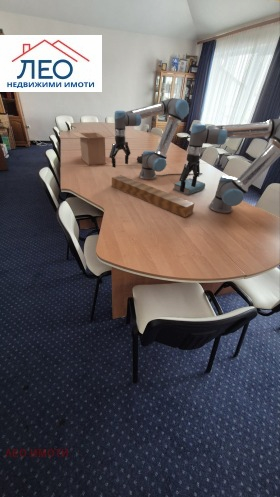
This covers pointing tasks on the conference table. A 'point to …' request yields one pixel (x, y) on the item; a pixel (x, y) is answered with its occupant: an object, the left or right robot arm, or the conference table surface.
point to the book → (189, 186)
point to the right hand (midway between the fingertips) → (187, 189)
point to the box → (92, 146)
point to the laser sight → (139, 158)
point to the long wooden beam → (154, 195)
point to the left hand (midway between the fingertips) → (120, 165)
